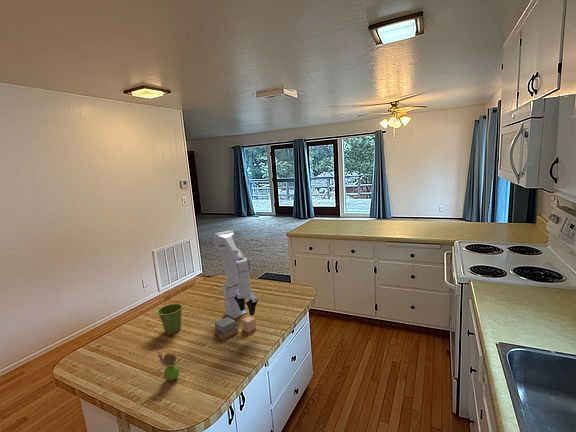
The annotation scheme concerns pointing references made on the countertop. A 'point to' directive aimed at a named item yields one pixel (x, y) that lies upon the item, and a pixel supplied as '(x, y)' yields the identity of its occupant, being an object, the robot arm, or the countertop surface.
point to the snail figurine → (169, 366)
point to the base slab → (226, 333)
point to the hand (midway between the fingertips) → (247, 312)
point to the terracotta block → (248, 324)
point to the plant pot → (171, 317)
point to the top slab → (225, 324)
